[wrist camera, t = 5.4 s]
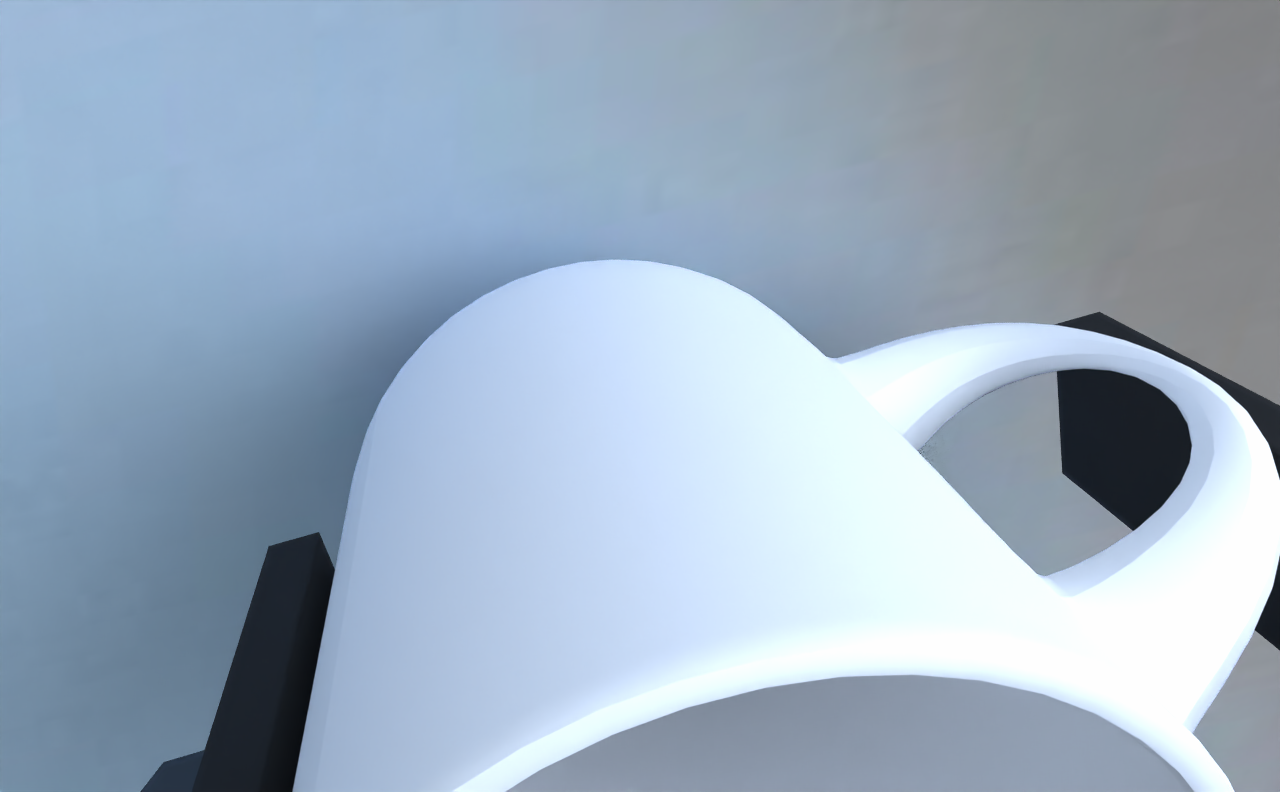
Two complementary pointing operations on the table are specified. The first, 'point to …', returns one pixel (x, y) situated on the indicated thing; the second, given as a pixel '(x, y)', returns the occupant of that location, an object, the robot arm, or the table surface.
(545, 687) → the mug
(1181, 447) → the robot arm
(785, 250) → the table surface
